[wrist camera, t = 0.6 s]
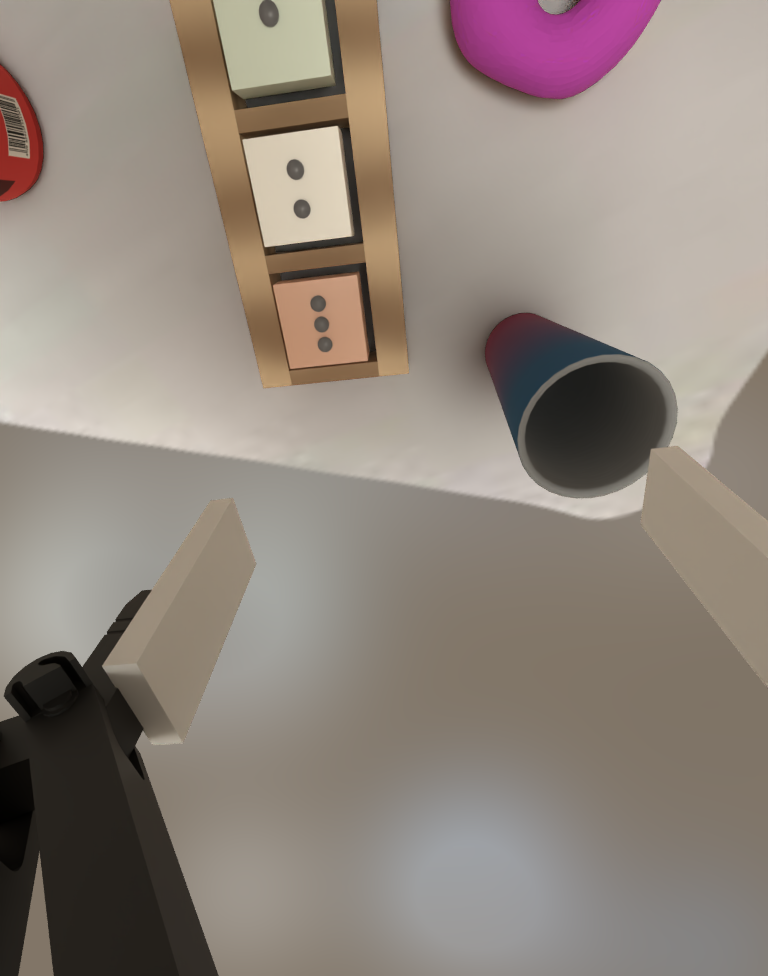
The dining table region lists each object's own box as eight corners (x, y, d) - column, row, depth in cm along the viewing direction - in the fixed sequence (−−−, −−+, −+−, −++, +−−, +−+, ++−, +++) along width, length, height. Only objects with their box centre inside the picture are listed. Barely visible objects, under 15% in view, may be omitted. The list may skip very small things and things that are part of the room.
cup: (484, 407, 36) (532, 514, 23) (461, 318, 33) (502, 384, 20) (575, 379, 35) (681, 475, 22) (561, 284, 32) (674, 330, 19)
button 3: (280, 280, 30) (271, 285, 28) (359, 271, 30) (356, 275, 28) (296, 360, 32) (289, 369, 30) (369, 352, 32) (367, 361, 30)
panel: (177, -43, 25) (151, -74, 22) (369, -77, 24) (366, -113, 21) (273, 375, 35) (263, 388, 33) (408, 361, 35) (408, 373, 32)
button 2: (252, 144, 27) (241, 139, 25) (341, 132, 26) (337, 125, 24) (273, 245, 29) (263, 247, 27) (354, 234, 29) (351, 236, 27)
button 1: (217, -32, 23) (200, -55, 21) (319, -49, 23) (311, -75, 21) (243, 99, 26) (230, 89, 24) (336, 85, 25) (330, 74, 23)
